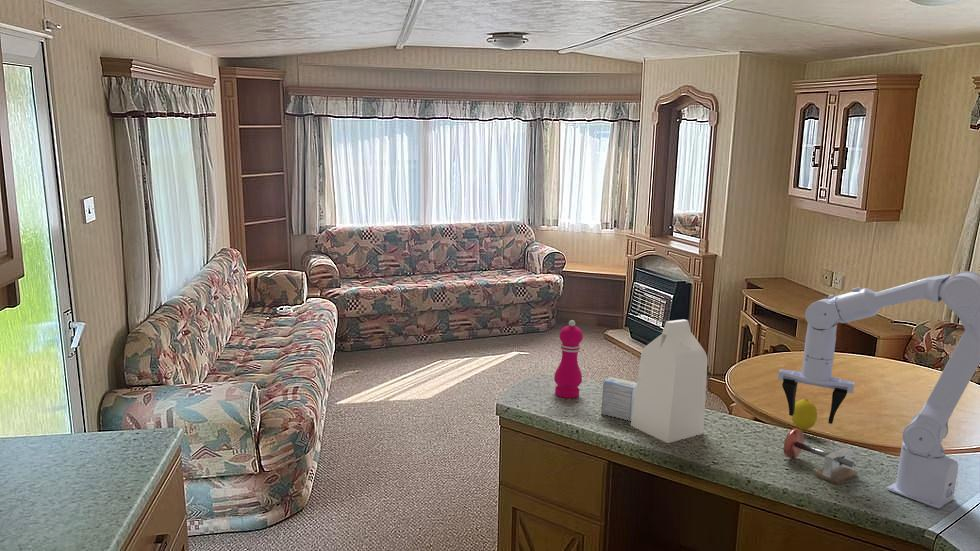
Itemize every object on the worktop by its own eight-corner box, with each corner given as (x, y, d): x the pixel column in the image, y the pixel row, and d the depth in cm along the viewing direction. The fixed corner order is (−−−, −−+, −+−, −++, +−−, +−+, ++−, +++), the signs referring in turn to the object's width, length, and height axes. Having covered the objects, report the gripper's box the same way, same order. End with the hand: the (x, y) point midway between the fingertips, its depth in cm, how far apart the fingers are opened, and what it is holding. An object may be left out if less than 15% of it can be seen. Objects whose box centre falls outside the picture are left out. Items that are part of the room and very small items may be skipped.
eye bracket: (857, 475, 149) (860, 452, 149) (838, 485, 144) (841, 461, 144) (833, 466, 153) (836, 444, 152) (813, 475, 148) (816, 452, 147)
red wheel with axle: (858, 475, 148) (862, 446, 147) (843, 483, 144) (847, 453, 143) (792, 451, 159) (796, 423, 158) (776, 458, 155) (780, 429, 154)
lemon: (817, 436, 170) (821, 403, 168) (792, 433, 171) (796, 401, 169) (811, 428, 175) (815, 396, 174) (787, 425, 176) (791, 393, 175)
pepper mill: (552, 397, 188) (557, 322, 184) (554, 388, 195) (559, 316, 191) (580, 400, 186) (585, 324, 183) (581, 391, 193) (586, 318, 190)
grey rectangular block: (637, 417, 177) (640, 383, 175) (630, 422, 173) (633, 387, 171) (607, 409, 181) (610, 376, 179) (600, 414, 177) (603, 380, 175)
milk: (665, 417, 177) (675, 313, 173) (703, 433, 168) (715, 324, 164) (630, 425, 171) (639, 317, 166) (667, 443, 161) (678, 329, 157)
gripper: (858, 358, 152) (850, 420, 154) (785, 346, 159) (778, 405, 161) (855, 365, 146) (847, 430, 148) (779, 353, 153) (772, 414, 155)
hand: (810, 418), depth 154 cm, fingers open, 7 cm apart
